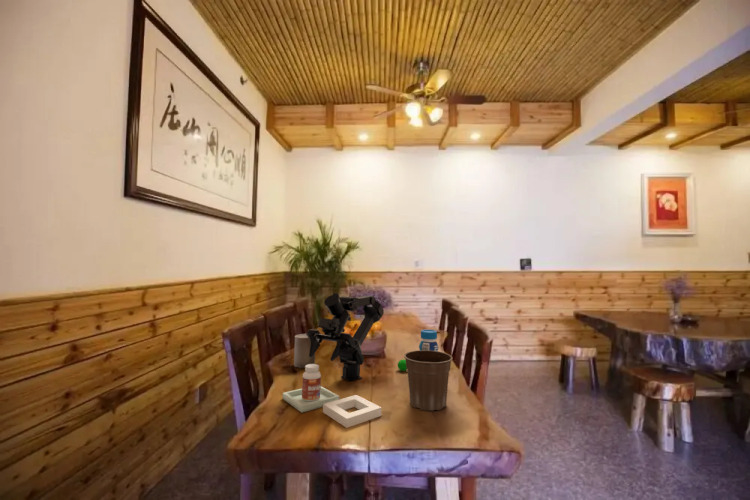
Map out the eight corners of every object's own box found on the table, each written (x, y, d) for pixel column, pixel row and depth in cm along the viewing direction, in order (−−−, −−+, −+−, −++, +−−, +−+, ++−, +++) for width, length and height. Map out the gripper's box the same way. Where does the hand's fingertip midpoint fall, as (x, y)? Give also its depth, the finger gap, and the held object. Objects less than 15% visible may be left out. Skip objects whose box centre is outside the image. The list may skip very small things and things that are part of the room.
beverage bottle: (414, 377, 140) (415, 329, 141) (432, 375, 143) (432, 328, 144) (424, 383, 132) (425, 333, 133) (442, 381, 135) (443, 332, 136)
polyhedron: (396, 369, 151) (397, 358, 152) (407, 369, 152) (407, 358, 152) (398, 372, 146) (398, 361, 147) (409, 372, 147) (409, 361, 147)
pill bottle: (307, 404, 108) (308, 369, 109) (298, 398, 113) (299, 365, 114) (323, 399, 112) (324, 366, 113) (314, 394, 117) (315, 362, 118)
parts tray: (318, 390, 122) (318, 384, 122) (339, 402, 112) (339, 396, 112) (282, 398, 113) (282, 392, 114) (301, 412, 103) (301, 406, 103)
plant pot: (414, 416, 102) (414, 363, 103) (396, 397, 117) (397, 351, 118) (461, 411, 106) (461, 360, 107) (438, 393, 122) (438, 349, 123)
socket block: (356, 402, 112) (356, 394, 112) (381, 415, 102) (381, 407, 102) (322, 412, 103) (323, 403, 104) (346, 427, 93) (346, 418, 94)
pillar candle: (319, 364, 155) (320, 332, 156) (304, 369, 147) (305, 335, 148) (304, 361, 160) (305, 330, 162) (289, 366, 152) (290, 333, 153)
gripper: (310, 308, 127) (289, 342, 117) (351, 311, 119) (333, 348, 109) (321, 325, 134) (303, 359, 124) (361, 330, 126) (345, 367, 115)
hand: (320, 358), depth 118 cm, fingers open, 9 cm apart
